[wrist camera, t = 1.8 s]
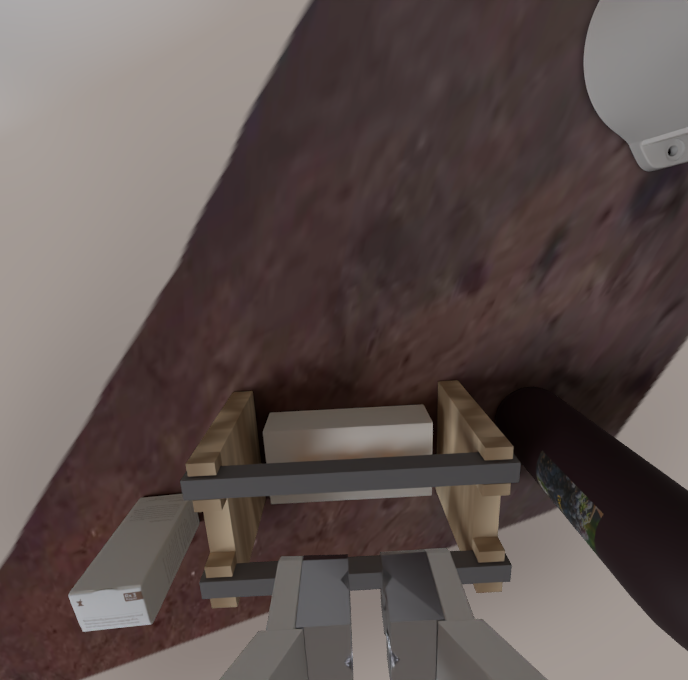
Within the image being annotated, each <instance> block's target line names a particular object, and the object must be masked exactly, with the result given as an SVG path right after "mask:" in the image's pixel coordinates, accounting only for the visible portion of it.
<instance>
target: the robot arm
mask: <svg viewBox="0 0 688 680" xmlns="http://www.w3.org/2000/svg"><path fill="white" fill-rule="evenodd" d="M584 76H585V83H586V87H587V91H588V94H589V97H590V100H591V102H592V105H593V107H594V108H595V110H596V112H597V113H598V115H599V116H600V118H601V119H602V120H603V122H604V123H605V124H606V125H607V126H608V127H609V128H610V129H612V130H613V131H614V132H616V133H617V134H618V135H619V136H621V137H622V138H623V139H624V140H625V141H626V142H627V143H628V144H629V146H630V149H631V151H632V153H633V155H634V158H635V159H636V161H637V163H638V164H639V166H640V167H641V168H642V169H643V170H645V171H655V170H659V169H663V168H667V167H671V166H675V165H679V164H683V163H687V162H688V0H600V1H599V3H598V5H597V7H596V9H595V11H594V14H593V16H592V19H591V22H590V25H589V28H588V32H587V36H586V42H585V48H584ZM669 148H670V150H671V153H670V155H668V149H669ZM380 572H381V580H382V581H381V582H380V589H381V608H382V618H383V627H384V634H385V635H386V638H387V660H388V668H389V676H390V680H547V679H546V678H545V677H544V676H543V675H542V674H541V673H540V672H539V671H538V670H537V669H536V668H534V667H533V666H532V665H531V664H530V663H529V662H528V661H527V660H526V659H525V658H524V657H523V656H522V655H520V654H519V653H518V652H517V651H516V650H515V649H514V648H513V647H512V646H511V645H509V643H508V642H506V641H505V640H504V639H503V638H502V637H501V636H500V635H499V634H498V633H497V632H496V631H495V630H493V629H492V628H491V627H490V626H489V625H488V624H487V623H486V622H485V621H484V620H482V619H474V616H473V613H472V610H471V608H470V605H469V602H468V599H467V597H466V594H465V591H464V589H463V586H462V583H461V580H460V578H459V575H458V572H457V569H456V567H455V564H454V561H453V559H452V556H451V553H450V551H449V550H448V549H447V548H438V549H425V550H407V551H392V552H380ZM220 680H353V655H352V630H351V606H350V584H349V566H348V554H344V555H306V556H286V557H280V560H279V562H278V566H277V571H276V577H275V582H274V588H273V594H272V599H271V605H270V610H269V616H268V621H267V627H266V631H258V632H257V634H256V635H255V636H254V637H253V639H252V640H251V641H250V642H249V644H248V645H247V646H246V647H245V649H244V650H243V651H242V652H241V654H240V655H239V656H238V657H237V659H236V660H235V661H234V663H233V664H232V665H231V666H230V667H229V668H228V670H227V671H226V672H225V673H224V675H223V676H222V677H221V679H220Z"/></svg>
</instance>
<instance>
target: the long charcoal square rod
mask: <svg viewBox="0 0 688 680" xmlns="http://www.w3.org/2000/svg"><path fill="white" fill-rule="evenodd" d="M520 466H521V462H520V461H519V460H518V459H517V458H516V456H515V455H514V454H513V459H504V460H484V459H483V457H482V456H481V454H480V453H479V452H470V453H451V454H433V455H414V456H396V457H377V458H359V459H340V460H322V461H303V462H285V463H266V464H248V465H229V466H221V467H220V469H219V471H218V473H217V475H209V476H190V477H188V475H187V471H186V473H185V474H184V476H183V477H182V479H181V481H180V483H181V489H182V494H183V499H184V501H186V500H204V499H222V498H241V497H259V496H277V495H295V494H314V493H332V492H350V491H369V490H387V489H405V488H423V487H442V486H460V485H478V484H497V483H515V482H519V477H520Z"/></svg>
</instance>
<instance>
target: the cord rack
mask: <svg viewBox="0 0 688 680" xmlns="http://www.w3.org/2000/svg"><path fill="white" fill-rule="evenodd" d="M513 448H514V446H513V445H512V444H511V443H510V442H509V440H508V439H507V438H506V437H505V436H504V435H503V433H502V432H501V431H500V430H499V429H498V427H497V426H496V425H495V424H494V423H493V422H492V420H491V419H490V418H489V417H488V416H487V414H486V413H485V412H484V411H483V410H482V409H481V407H480V406H479V405H478V404H477V403H476V401H475V400H474V399H473V398H472V397H471V396H470V394H469V393H468V392H467V391H466V390H465V388H464V387H463V386H462V385H461V384H460V383H459V381H458V380H454V381H438V412H437V454H451V453H470V452H479V453H480V454H481V456H482V457H483V459H484V460H504V459H513ZM248 464H261V455H260V447H259V439H258V430H257V422H256V414H255V406H254V397H253V391H244V392H233V393H232V395H231V396H230V398H229V399H228V401H227V402H226V404H225V405H224V407H223V408H222V410H221V411H220V413H219V414H218V416H217V417H216V419H215V420H214V422H213V423H212V425H211V426H210V428H209V429H208V431H207V432H206V434H205V436H204V437H203V439H202V440H201V442H200V443H199V445H198V446H197V448H196V449H195V451H194V452H193V454H192V455H191V457H190V458H189V460H188V461H187V463H186V469H187V475H188V477H190V476H209V475H217V473H218V471H219V469H220V467H221V466H229V465H248ZM510 485H511V483H497V484H478V485H460V486H442V487H436V491H437V494H438V497H439V499H440V502H441V504H442V507H443V509H444V512H445V514H446V517H447V519H448V522H449V524H450V527H451V529H452V532H453V534H454V537H455V540H456V542H457V545H458V547H459V549H460V551H466V550H473V551H474V554H475V556H476V558H477V560H478V563H481V562H499V561H504V558H505V550H504V548H503V546H502V544H501V542H500V540H499V538H498V523H499V510H500V496H502V495H510ZM265 500H266V497H265V496H259V497H241V498H222V499H204V500H192V502H193V507H194V512H203V513H204V519H205V525H206V530H207V536H208V542H209V547H210V555H209V557H208V560H207V563H206V565H205V573H206V578H215V577H232V576H233V573H234V570H235V566H236V563H249V561H250V557H251V553H252V549H253V546H254V542H255V538H256V534H257V531H258V527H259V523H260V519H261V515H262V512H263V508H264V504H265ZM473 585H474V588H475V590H476V593H484V592H502V582H493V583H476V584H473ZM239 598H240V597H229V598H212V599H210V600H211V606H212V608H223V607H237V606H238V602H239Z"/></svg>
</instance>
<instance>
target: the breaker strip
mask: <svg viewBox="0 0 688 680" xmlns="http://www.w3.org/2000/svg"><path fill="white" fill-rule="evenodd" d="M263 439H264V448H265V456H266V463H285V462H303V461H322V460H340V459H359V458H377V457H396V456H414V455H432V446H433V422H432V420H431V418H430V416H429V414H428V412H427V411H426V409H425V407H424V405H423V404H422V405H403V406H385V407H366V408H347V409H328V410H309V411H290V412H271V413H270V414H269V416H268V419H267V422H266V424H265V427H264V430H263ZM429 495H432V487H423V488H405V489H387V490H369V491H350V492H332V493H314V494H295V495H277V496H270V499H271V504H283V503H301V502H319V501H337V500H356V499H374V498H392V497H410V496H429Z"/></svg>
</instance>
